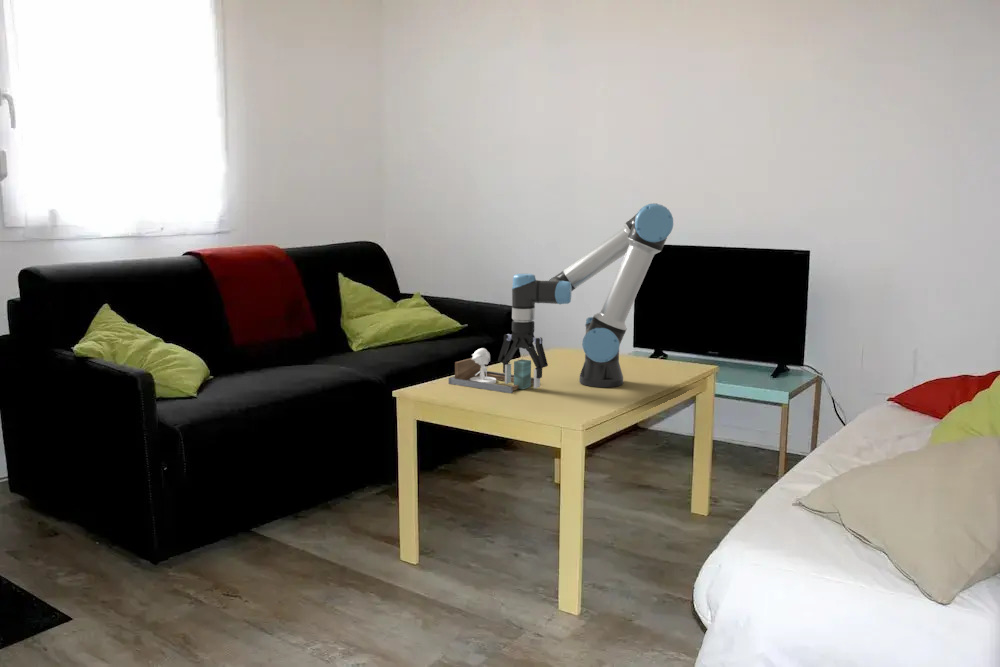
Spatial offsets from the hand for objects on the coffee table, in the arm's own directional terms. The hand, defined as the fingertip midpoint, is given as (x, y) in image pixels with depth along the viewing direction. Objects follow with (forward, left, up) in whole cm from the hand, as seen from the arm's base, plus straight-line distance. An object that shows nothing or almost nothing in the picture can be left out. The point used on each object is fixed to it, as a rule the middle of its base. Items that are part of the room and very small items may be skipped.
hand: (522, 385), depth 291 cm
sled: (+11, 0, -1) cm, 11 cm away
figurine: (+16, 0, -1) cm, 16 cm away
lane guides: (+12, 0, -1) cm, 12 cm away
